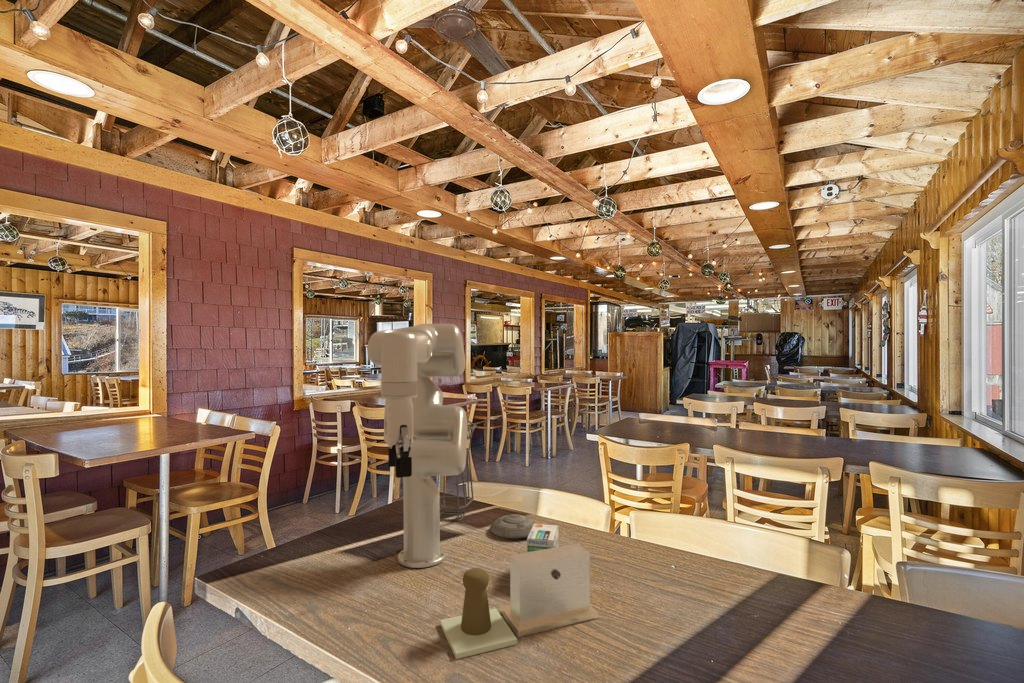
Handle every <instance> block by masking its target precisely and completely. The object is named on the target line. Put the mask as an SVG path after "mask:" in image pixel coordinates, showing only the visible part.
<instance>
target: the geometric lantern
mask: <svg viewBox="0 0 1024 683" xmlns="http://www.w3.org/2000/svg"><path fill="white" fill-rule="evenodd" d="M468 423H469V424H468ZM476 427H478V425H477V424H476V423H473V422H472V421H470V420H468V419H467V440H469V445H468V447H467V448H466V479H467V480H466V483H465V470H464V471H463V472H462V473H461V474H462V476H461V477H462V488H463V489H462V490H463V491H462V492H463V496H459V475H455V476H456V495H454V496H452V495H451V496H450V495H446V494H445V493H446V489H445V488H446V476H442V477H443V479H442V480H443V485H442V488H443V489H442V490H443V491H442V492H443V493H442V496H440V499H442V500H443V504H442V503H441V502H440V516H441V515H457V518H456V519H453V518H451V519H450V518H448V519H447V518H440V521H454V522H455V521H456V522H460V521H462V520H463V519H464V517H465V514H466V508H467V507H468V506H469V505H470V504H471V503H473V501H474V489H473V488H474V487H473V477H472V475H473V474H472V465H471V453H470V451H471V445H472V437H473V433H474V432H475V431H474V430H475V429H476ZM470 431H471V432H470ZM430 477H431V478H432V479H433V480H434V476H430ZM469 479H470V480H469ZM439 484H440V476H437V482H436V485H437V487H438V489H439V486H440V485H439ZM465 484H467V496H466V486H465ZM439 490H440V489H439ZM470 490H471V491H470ZM470 492H471V496H470ZM445 499H456V500H457V501H456V505H446V503H445ZM460 499H463V502H464V503H463V505H460ZM468 500H469V501H468ZM462 513H463V514H462Z"/></svg>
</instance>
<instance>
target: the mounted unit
mask: <svg viewBox="0 0 1024 683" xmlns="http://www.w3.org/2000/svg"><path fill="white" fill-rule="evenodd" d="M590 555H591V553H590V551H589V550H587V549H586V548H585V547H583V546H582V545H581V544H579V543H574V544H568V545H563V546H559V547H555V548H549V549H544V550H538V551H532V552H527V551H526V552H521V553H515V554H511V555H509V558H510V560H509V562H510V566H509V569H510V570H509V572H510V573H509V575H510V577H509V578H510V579H509V580H510V585H509V587H510V590H509V592H510V600H509V601H510V603H509V604H504V605H500V606H499V613H500V615H501V616H502V618H503V619H505V622H506V623H507V625H508V626H509V628H510V629H511V630H513V631H512V632H513V633H514V635H515V636H516V637H517V638H520V637H521V638H522V637H526V636H529V635H533V634H537V633H542V632H547V631H550V630H553V629H558V628H563V627H566V626H572V625H575V624H578V623H579V624H580V623H582V622H587V621H591V620H595V619H598V618H599V612H598V611H597V610H596V609H595V608H594V607H593V606H592V605H591V574H590V573H591V570H590V569H591V566H590V565H591V564H590V562H591V561H590V560H591V559H590V558H591V556H590Z"/></svg>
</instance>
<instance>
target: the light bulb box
mask: <svg viewBox="0 0 1024 683" xmlns="http://www.w3.org/2000/svg"><path fill="white" fill-rule="evenodd" d="M559 526H560V525H556V524H555V525H554V524H553V525H552V524H542V523H537V524H533V527H532V529H531V531H530V533H529V535H528V537H526V541H527V543H526V548H527V551H526V552H532V551H538V550H544V549H549V548H555V547H560V546H559V544H560V541H559V540H560V538H559V530H560V528H559Z"/></svg>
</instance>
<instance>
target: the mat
mask: <svg viewBox="0 0 1024 683" xmlns="http://www.w3.org/2000/svg"><path fill="white" fill-rule="evenodd" d="M489 612H490V620H491V629H490V630H489V631H488V632H487V633H485V634H482V635H468V634H466V633H464V632H463V631H462V630H461V622H462V614H461V615H457V616H453V617H448V618H444V619H440V621H439V625H440V627H441V629H442V632H443V634H444V636H445V638H446V641H447V643H448V645H449V648H451V649H450V650H451V651H452V654H453V656H454V658H455V660H459V659H463V658H466V657H471V656H475V655H479V654H484V653H487V652H491V651H497V650H500V649H504V648H508V647H511V646H512V647H513V646H517V645H518V637H517V635H516V634H515V633H514V631H512V628H511V627H510V625H509V624H508V623H507V621H506V620H504V619H505V618H504V617H503V615H502V614H501V613H500V611H499V610H498V609H497V608H496V607H494V608H491V609H490V608H489Z"/></svg>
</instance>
